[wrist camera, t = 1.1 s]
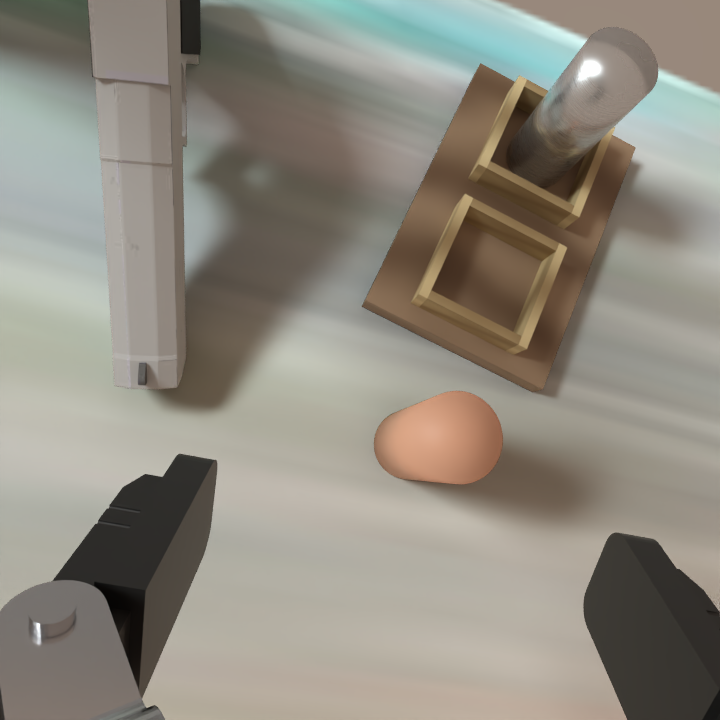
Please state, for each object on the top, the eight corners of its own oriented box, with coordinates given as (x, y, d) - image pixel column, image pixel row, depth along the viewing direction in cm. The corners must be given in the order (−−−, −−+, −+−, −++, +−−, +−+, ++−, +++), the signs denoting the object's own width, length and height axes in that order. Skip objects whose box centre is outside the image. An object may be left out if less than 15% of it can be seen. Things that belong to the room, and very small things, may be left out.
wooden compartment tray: (532, 392, 39) (558, 385, 35) (361, 306, 38) (371, 291, 35) (623, 158, 44) (653, 132, 40) (472, 77, 43) (491, 43, 39)
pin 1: (361, 430, 36) (397, 418, 27) (419, 398, 38) (473, 375, 28) (395, 492, 36) (443, 501, 26) (452, 457, 37) (519, 455, 27)
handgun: (207, -95, 37) (165, -248, 23) (208, 321, 46) (179, 395, 32) (141, -105, 36) (57, -269, 22) (156, 319, 45) (103, 393, 31)
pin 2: (494, 144, 40) (568, 42, 30) (544, 122, 41) (630, 16, 31) (526, 197, 40) (611, 111, 30) (575, 174, 41) (672, 83, 31)
